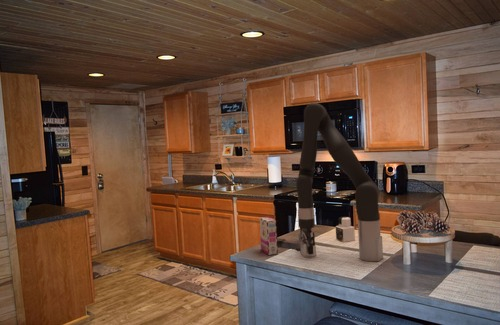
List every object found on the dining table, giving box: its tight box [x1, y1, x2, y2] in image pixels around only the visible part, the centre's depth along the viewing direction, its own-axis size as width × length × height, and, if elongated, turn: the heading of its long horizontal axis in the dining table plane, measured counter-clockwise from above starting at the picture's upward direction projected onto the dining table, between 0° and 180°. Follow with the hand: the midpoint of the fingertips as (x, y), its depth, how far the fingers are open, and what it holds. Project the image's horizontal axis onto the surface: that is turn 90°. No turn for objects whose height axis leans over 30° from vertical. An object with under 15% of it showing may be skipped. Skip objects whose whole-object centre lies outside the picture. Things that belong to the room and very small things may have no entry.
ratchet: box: [277, 233, 302, 252], centre depth 192 cm, size 22×8×8 cm, turn 55°
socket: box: [300, 241, 317, 258], centre depth 177 cm, size 6×6×6 cm
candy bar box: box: [259, 216, 279, 256], centre depth 185 cm, size 11×5×16 cm, turn 18°
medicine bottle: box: [335, 216, 356, 243], centre depth 199 cm, size 7×7×12 cm
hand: (307, 251), depth 177 cm, fingers open, 8 cm apart
